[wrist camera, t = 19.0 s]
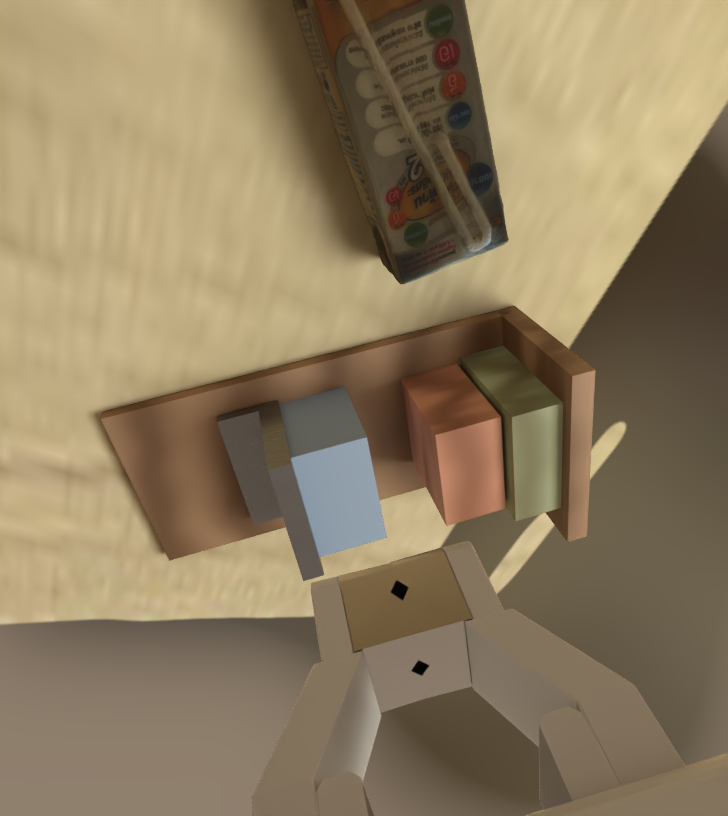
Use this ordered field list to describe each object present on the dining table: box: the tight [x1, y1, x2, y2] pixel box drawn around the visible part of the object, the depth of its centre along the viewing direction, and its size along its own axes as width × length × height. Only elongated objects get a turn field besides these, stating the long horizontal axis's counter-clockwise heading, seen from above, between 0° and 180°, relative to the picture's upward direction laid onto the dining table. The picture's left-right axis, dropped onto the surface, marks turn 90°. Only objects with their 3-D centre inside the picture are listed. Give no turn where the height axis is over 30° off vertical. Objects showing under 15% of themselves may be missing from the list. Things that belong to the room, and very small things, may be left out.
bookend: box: [217, 400, 324, 581], centre depth 42 cm, size 4×10×8 cm, turn 10°
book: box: [279, 387, 387, 557], centre depth 43 cm, size 5×9×7 cm, turn 10°
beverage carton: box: [293, 0, 508, 284], centre depth 33 cm, size 8×19×6 cm, turn 19°
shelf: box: [101, 306, 595, 560], centre depth 43 cm, size 31×14×11 cm, turn 100°
